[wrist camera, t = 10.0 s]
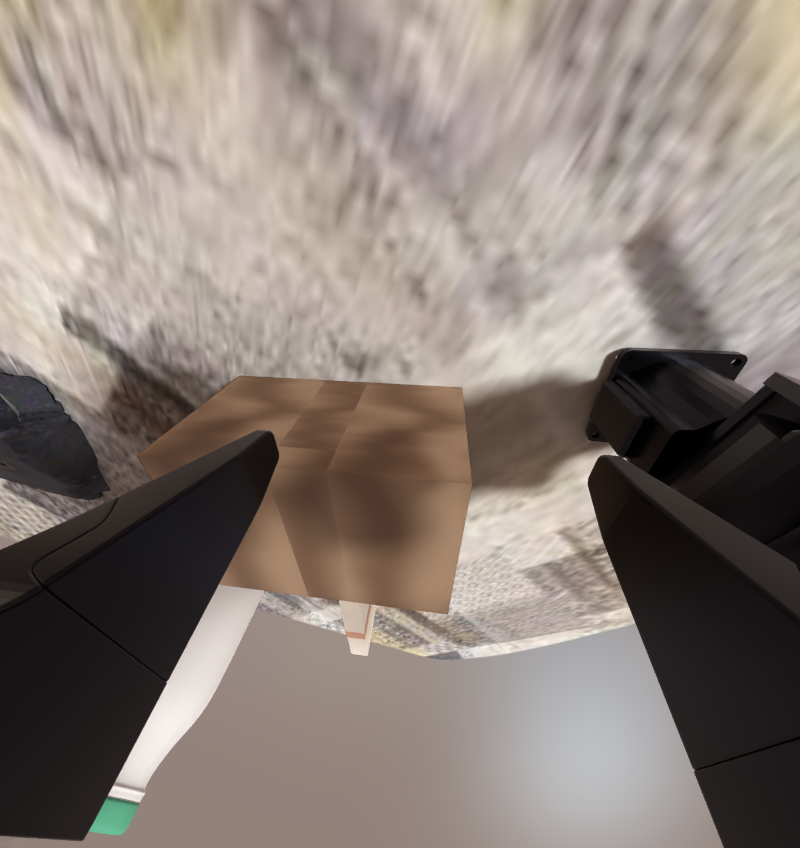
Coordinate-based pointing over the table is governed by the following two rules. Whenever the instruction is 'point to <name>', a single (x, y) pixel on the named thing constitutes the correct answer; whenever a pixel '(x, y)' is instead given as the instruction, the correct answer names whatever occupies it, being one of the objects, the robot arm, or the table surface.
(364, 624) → the white banded bar
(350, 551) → the brown cardboard box
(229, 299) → the table surface
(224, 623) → the milk bottle
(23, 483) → the black holed wedge
